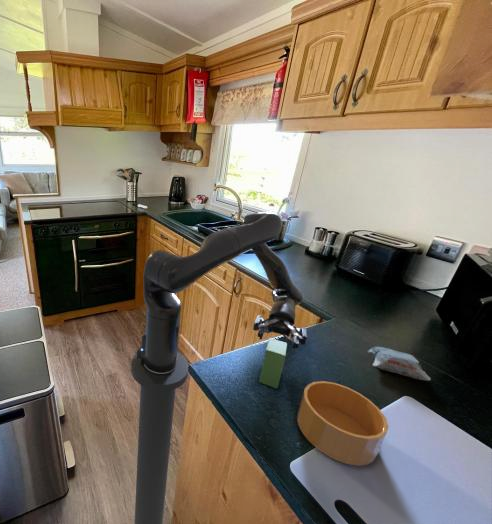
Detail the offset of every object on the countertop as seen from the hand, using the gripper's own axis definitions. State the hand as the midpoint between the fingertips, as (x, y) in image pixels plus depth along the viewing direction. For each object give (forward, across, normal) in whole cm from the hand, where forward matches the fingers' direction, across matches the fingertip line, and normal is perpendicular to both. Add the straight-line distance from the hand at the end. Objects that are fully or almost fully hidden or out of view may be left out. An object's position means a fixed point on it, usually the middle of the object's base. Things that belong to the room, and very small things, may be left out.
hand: (277, 341), depth 80 cm
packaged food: (-13, +30, +6) cm, 34 cm away
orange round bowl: (+19, +14, +6) cm, 24 cm away
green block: (+9, 0, +6) cm, 11 cm away
